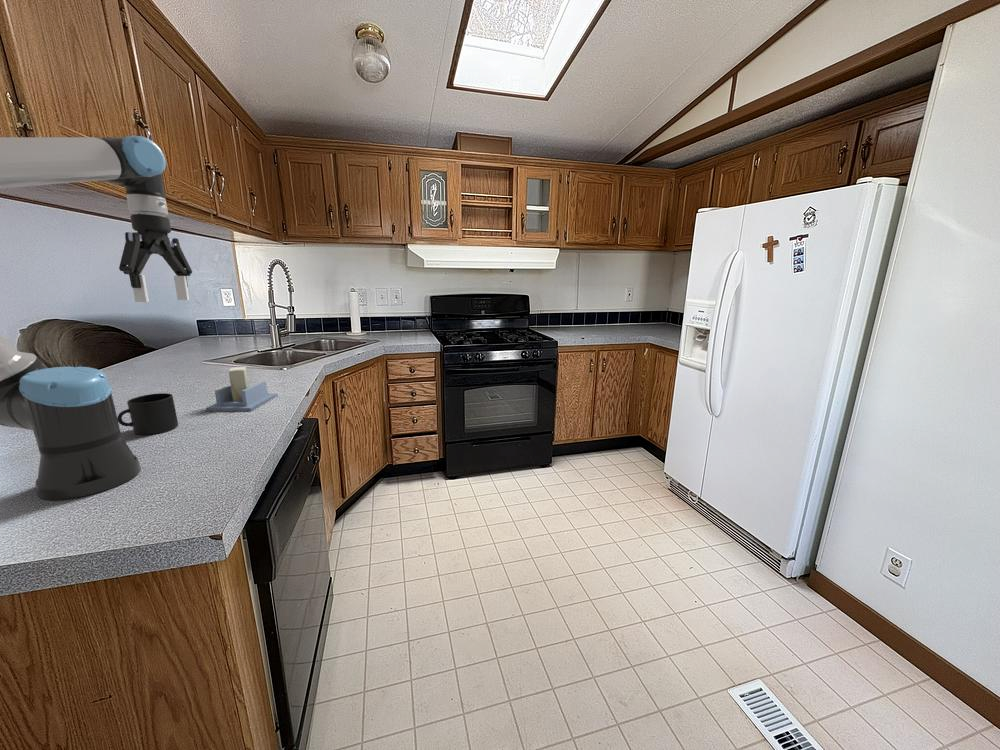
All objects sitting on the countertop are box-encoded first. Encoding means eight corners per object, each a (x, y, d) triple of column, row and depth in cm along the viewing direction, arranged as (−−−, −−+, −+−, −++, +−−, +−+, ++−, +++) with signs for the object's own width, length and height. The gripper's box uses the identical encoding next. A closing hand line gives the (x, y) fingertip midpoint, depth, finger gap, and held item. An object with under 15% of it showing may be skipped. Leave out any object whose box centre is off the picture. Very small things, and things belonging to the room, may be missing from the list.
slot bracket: (251, 411, 126) (248, 392, 125) (206, 411, 126) (202, 392, 124) (277, 396, 142) (275, 379, 140) (237, 396, 141) (235, 379, 140)
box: (236, 399, 134) (230, 367, 132) (251, 398, 136) (246, 366, 133) (233, 404, 130) (228, 370, 127) (248, 402, 131) (243, 369, 129)
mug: (119, 432, 109) (111, 400, 107) (174, 420, 118) (168, 391, 115) (123, 441, 103) (115, 408, 101) (181, 428, 111) (175, 397, 109)
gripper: (120, 206, 89) (138, 303, 94) (200, 223, 113) (210, 299, 118) (85, 205, 89) (105, 302, 94) (173, 222, 113) (185, 299, 118)
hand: (164, 301), depth 106 cm, fingers open, 13 cm apart
